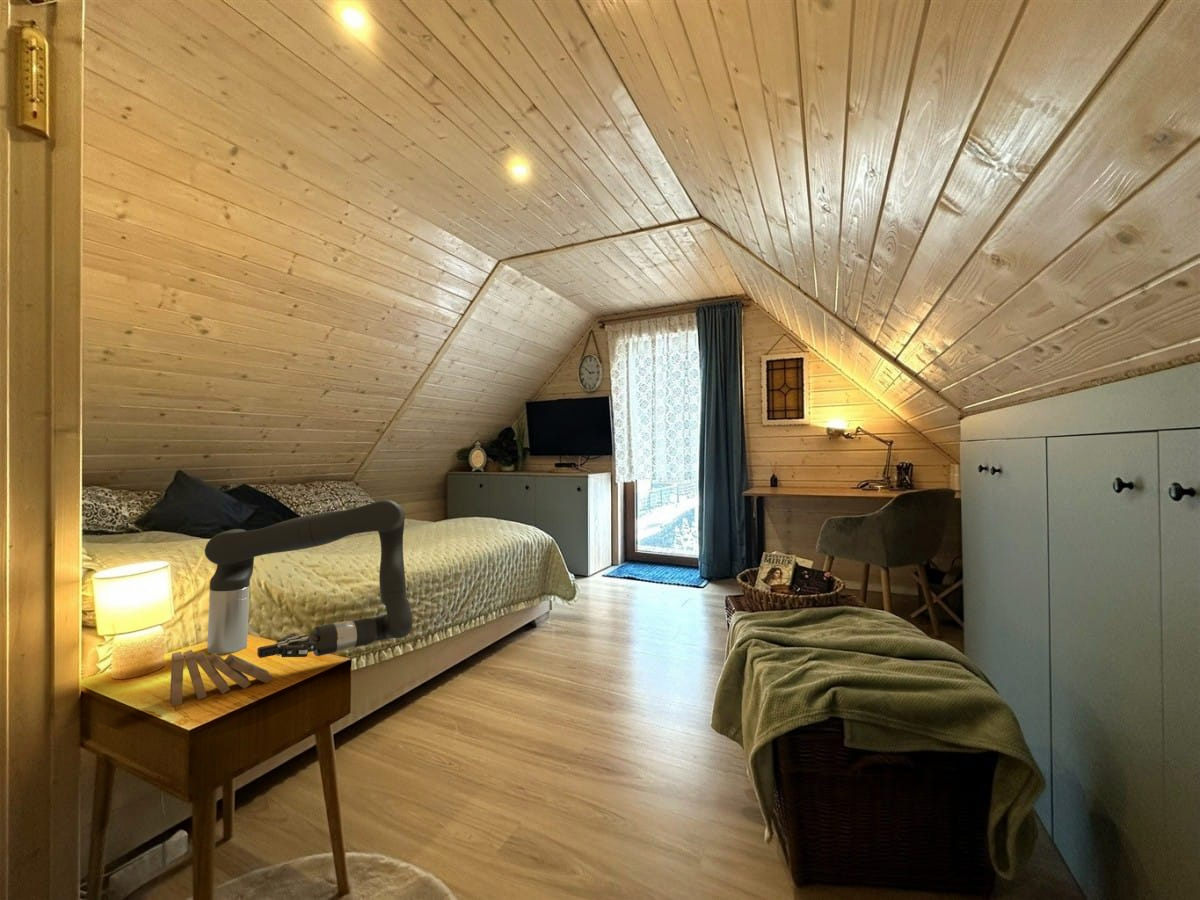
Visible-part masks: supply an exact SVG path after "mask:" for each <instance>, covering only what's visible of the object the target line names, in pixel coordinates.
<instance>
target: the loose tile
mask: <svg viewBox="0 0 1200 900" xmlns="http://www.w3.org/2000/svg"><path fill="white" fill-rule="evenodd" d="M224 660H225V661H226V663H227V665H228V666H229V667H231V668H233V669H235V670H238V671H240V672H241V673H243V674H244V675H246V676H249V677H251V678H254V679H256V680H258V681H260V682H262V683H265V684H267V683H269V682H270V681H271V680H272V679H273V677H272V675H271V674H270V672H269V671H268V670H266V669H264V668H262V667H260V666H258V665H255V664H253V663H251V662H249V661H248V660H244V659H243V658H240V657H238V656H236V655H234V654H231V653H228V655H227V657H226V658H225V659H224Z"/></svg>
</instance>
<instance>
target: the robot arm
mask: <svg viewBox="0 0 1200 900" xmlns="http://www.w3.org/2000/svg"><path fill="white" fill-rule="evenodd" d="M405 519H406V513H405V509H404V508H403V507H402V506H401V505H400V504H398V503H397V502H396V501H393V500H390V499H383V500H377V501H375V502H371V503H368V504H365V505H361V506H358V507H355V508H350V509H344V510H334V511H328V512H327V511H326V512H322V513H313V514H309V515H304V516H299V517H295V518H291V519H286V520H284V521H281V522H277V523H274V524H272V525H269V526H266V527H262V528H258V529H253V530H252V529H251V530H245V529H243V528H242V529H241V528H233V529H229V530H226V531H222V532H220V533H217V534H215V535H214V536H213V537H211V538H210V539H209V540H208V542H207V543H206V545H205V547H204V548H205V549H204V556H205V557H206V559H207V560H209V561H210V562H211V563H213V564H215V565H216V569H215V572H214V574H213V576H212V577H211V579H210V580H209V595H208V596H209V598H208V599H209V600H208V603H209V604H208V621H207V623H208V624H207V625H208V626H207V640H206V641H207V644H206V647H207V648H206V652H207V653H208V654H210V655H211V654H212V653H214V652H215V653H216V654H217V655H225V654H231V653H236V652H240V651H242V650H244V649H246V648H247V646H248V635H249V633H248V632H249V611H250V610H249V609H250V584H251V583H250V581H251V578H252V576H253V573H254V562H255V557H259V556H260V557H261V556H264V555H270V554H278V553H286V552H292V551H298V550H299V551H300V550H305V549H309V548H314V547H319V546H324V545H328V544H330V543H332V542H333V543H334V542H336V541H338V540H341V539H343V538H345V537H348V536H351V535H356V534H362V533H363V534H364V533H369V532H370V533H371V532H378V536H379V540H380V565H379V573H378V574H379V575H378V577H379V579H378V580H379V593H380V596H379V597H380V600H381V603H382V604H383V605H384V607H385V610H386V614H381V615H378V616H373V617H367V618H359V619H355V620H347V621H345V620H344V621H338V622H332V623H327V624H322V625H321V624H320V625H316V626H314V627H313V629H312V632H311V633H310V634H305V633H302V634H298V635H297V636H296V633H295V632H294V633H290V634H288V635H286V636H283V637H281V638H279V639H277V640H276V642H275V643H274V644H269V645H264V646H260V647H258V648H257V649H256V650H257V651H256V652H257V654H256V655H257V657H258V658H259V659H263V658H266V657H273V656H280V657H281V658H306V657H308V655H309V654H308V653H311V652H313V655H314V656H316V657H321V656H326V655H330V654H335V653H339V652H344V651H347V650H349V649H354V648H357V647H363V646H367V645H369V644H372V643H374V642H378V641H383V640H390V639H403V638H405V637H407V636H409V634H410V633H411V631H412V628H413V620H414V619H413V614H412V609H411V607H410V603H409V599H408V596H407V585H406V582H407V581H406V571H405V563H404V544H403V543H404V530H405V529H404V528H405Z"/></svg>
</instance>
